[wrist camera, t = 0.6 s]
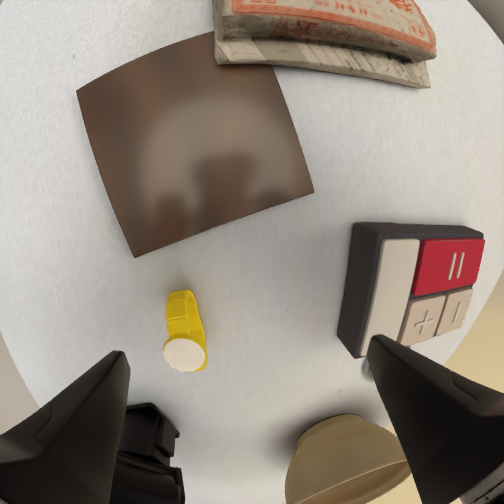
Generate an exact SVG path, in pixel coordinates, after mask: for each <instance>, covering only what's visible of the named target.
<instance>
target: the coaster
mask: <svg viewBox="0 0 504 504" xmlns="http://www.w3.org/2000/svg"><path fill="white" fill-rule="evenodd" d="M76 93H77V97H78V101H79V105H80V109H81V113H82V116H83V120H84V124H85V127H86V131H87V134H88V138H89V141H90V144H91V147H92V151H93V154H94V157H95V160H96V163H97V166H98V169H99V172H100V175H101V177H102V180H103V183H104V186H105V188H106V191H107V194H108V197H109V199H110V202H111V204H112V207H113V209H114V212H115V214H116V217H117V219H118V222H119V224H120V226H121V229H122V231H123V234H124V236H125V238H126V240H127V243H128V245H129V247H130V249H131V252H132V254H133V256H134V258H136V257H139V256H141V255H144V254H146V253H149V252H151V251H154V250H157V249H159V248H162V247H164V246H167V245H169V244H172V243H174V242H177V241H180V240H182V239H185V238H187V237H190V236H193V235H195V234H198V233H201V232H203V231H206V230H209V229H211V228H214V227H217V226H220V225H222V224H225V223H228V222H231V221H233V220H236V219H239V218H242V217H244V216H247V215H250V214H253V213H256V212H259V211H261V210H264V209H267V208H270V207H273V206H276V205H279V204H282V203H285V202H288V201H291V200H294V199H297V198H299V197H302V196H306V195H309V194H312V193H314V188H313V185H312V181H311V178H310V175H309V171H308V168H307V165H306V162H305V158H304V155H303V152H302V149H301V146H300V143H299V140H298V137H297V133H296V131H295V128H294V125H293V122H292V119H291V116H290V113H289V110H288V107H287V105H286V102H285V99H284V96H283V94H282V91H281V88H280V86H279V83H278V81H277V78H276V75H275V73H274V70H273V68H272V65H271V64H221V65H218V64H217V62H216V59H215V31H212V32H209V33H205V34H202V35H199V36H195V37H192V38H189V39H186V40H183V41H180V42H177V43H174V44H172V45H169V46H166V47H163V48H161V49H158V50H156V51H153V52H151V53H149V54H146V55H144V56H141V57H139V58H137V59H135V60H133V61H130V62H128V63H126V64H124V65H122V66H120V67H118V68H116V69H114V70H112V71H110V72H108V73H106V74H104V75H102V76H101V77H99V78H97V79H95V80H93V81H92V82H90V83H88V84H86V85H85V86H83V87H81V88H80V89H78V90H77V91H76Z"/></svg>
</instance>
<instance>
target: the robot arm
mask: <svg viewBox="0 0 504 504" xmlns="http://www.w3.org/2000/svg"><path fill="white" fill-rule="evenodd" d="M367 359H368V362H369V365H370V368H371V371H372V374H373V378H374V381H375V384H376V387H377V390H378V392H379V394H380V397H381V399H382V401H383V404H384V406H385V408H386V410H387V413H388V415H389V417H390V420H391V422H392V425H393V427H394V429H395V432H396V434H397V437H398V439H399V442H400V444H401V447H402V449H403V452H404V454H405V457H406V459H407V462H408V465H409V467H410V470H411V473H412V474H413V478H414V481H415V484H416V487H417V490H418V492H419V495H420V498H421V501H422V504H450V503H451V502H453V501H454V500H456V499H457V498H459V497H460V499H461V501H462V503H463V504H504V393H501V392H499V391H496V390H493V389H491V388H488V387H486V386H483V385H481V384H478V383H476V382H474V381H471V380H469V379H467V378H465V377H463V376H461V375H459V374H457V373H455V372H453V371H452V372H451V370H449V369H448V368H445V367H444V366H442V365H440V364H438V363H436V362H434V361H432V360H430V359H428V358H427V357H425V356H423V355H421V354H419V353H417V352H415V351H413V350H411V349H410V348H408V347H406V346H404V345H402V344H400V343H398V342H396V341H394V340H393V339H391V338H389V337H387V336H385V335H383V334H377V335H373V336H372V337H371V339H370V342H369V346H368V349H367ZM129 380H130V366H129V364H128V361H127V358H126V356H125V353H124V352H123V351H115V350H114V351H112V352H110V353H109V354H108V355H106V356H105V357H104V358H103V359H101V360H100V361H99V362H98V363H96V364H95V365H94V366H93V367H91V368H90V369H89V370H88V371H86V372H85V373H84V374H83V375H81V376H80V377H79V378H78V379H76V380H75V381H74V382H73V383H72V384H70V385H69V386H68V387H67V388H65V389H64V390H63V391H62V392H60V393H59V394H58V395H57V396H55V397H54V398H53V399H52V400H51V401H49V402H48V403H47V404H45V405H44V406H43V407H42V408H40V409H39V410H38V411H37V412H35V413H34V414H32V415H31V416H30V417H28V418H27V419H25V420H24V421H22V422H21V423H19V424H18V425H16V426H14V427H13V428H11V429H10V430H8V431H7V432H5V433H4V434H1V435H0V504H185V492H184V486H183V479H182V472H181V468H177V467H176V468H174V467H170V457H173V456H174V447H175V438H178V437H179V436H180V433H179V432H178V431H177V430H176V429H175V428H174V426H173V425H172V424H171V423H170V422H169V421H168V420H167V419H166V418H165V417H164V416H163V414H162V413H161V412H160V411H159V410H158V409H157V408H156V406H155V405H154V404H151V403H148V404H142V405H136V406H130V407H126V405H127V397H128V388H129Z"/></svg>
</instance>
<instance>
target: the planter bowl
mask: <svg viewBox="0 0 504 504" xmlns="http://www.w3.org/2000/svg"><path fill="white" fill-rule="evenodd" d="M297 446H298V449H297V451H296V453H295V454H294V456H293V458H292V460H291V463H290V465H289V468H288V471H287V475H286V481H285V497H286V504H366V503H368V502H371V501H373V500H375V499H377V498H379V497H380V496H382V495H384V494H386V493H387V492H389V491H391V490H392V489H394V488H395V487H397V486H398V485H399V484H401V483H402V482H403V481H405V480H406V479H407V478H408V477H409V476H410V475H411V474H412V473H411V470H410V467H409V465H408V462H407V459H406V457H405V454H404V452H403V449H402V447H401V444H400V442H399V439H398V437H396V436H395V435H394V434H392V433H391V432H389V431H388V430H386V429H384V428H382V427H380V426H378V425H376V424H373V423H370V422H366V421H365V420H364V419H363V418H362V417H361V416H359V415H355V414H345V415H339V416H335V417H332V418H329V419H326V420H324V421H321V422H319V423H317V424H316V425H314V426H312V427H311V428H309V429H308V430H307V431H306V432H304V433H303V434H302V436H301V437H300V438H299V440H298V444H297Z"/></svg>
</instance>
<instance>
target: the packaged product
mask: <svg viewBox="0 0 504 504" xmlns="http://www.w3.org/2000/svg"><path fill="white" fill-rule="evenodd" d="M212 4H213V15H214V26H215V59H216V62H217V64H218V65H221V64H272V65H284V66H293V67H301V68H309V69H316V70H322V71H328V72H334V73H341V74H349V75H356V76H363V77H369V78H374V79H380V80H385V81H390V82H395V83H399V84H403V85H407V86H412V87H415V88H419V89H421V88H431V86H430V81H429V75H428V72H427V68H426V63H425V61H426V60H431V59H434V58H435V57H437V56H436V47H435V46H436V39H435V34H434V32H433V30H432V28H431V26H430V25H429V24H428V22H427V20H426V19H425V17H424V16H423V14H422V13H421V11H420V8H419V7H418V6H417V5H416V3H415V2H414V1H413V0H212Z"/></svg>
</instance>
